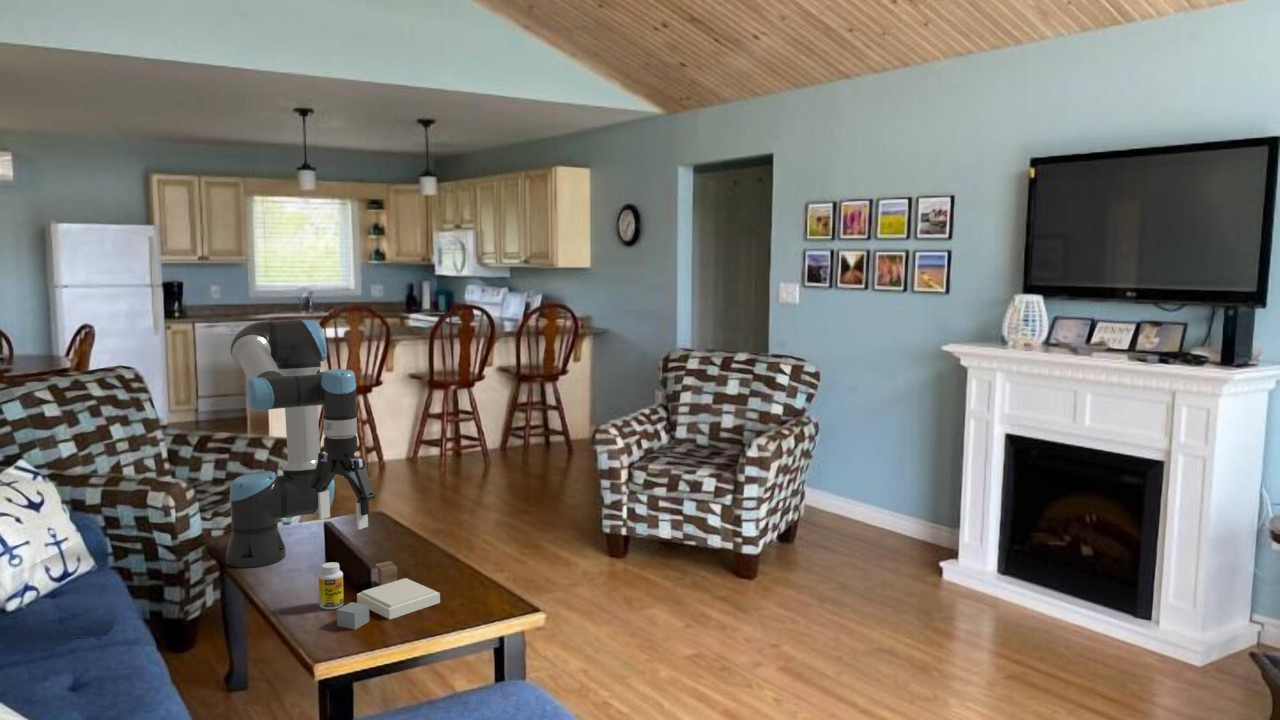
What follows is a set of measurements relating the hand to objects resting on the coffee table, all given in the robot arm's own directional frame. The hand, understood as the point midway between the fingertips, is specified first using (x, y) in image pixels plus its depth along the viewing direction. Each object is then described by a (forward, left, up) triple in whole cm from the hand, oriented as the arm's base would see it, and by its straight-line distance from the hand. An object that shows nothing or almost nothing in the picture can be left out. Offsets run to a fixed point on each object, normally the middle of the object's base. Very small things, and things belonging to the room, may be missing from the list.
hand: (343, 523), depth 225 cm
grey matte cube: (+12, -5, -20) cm, 24 cm away
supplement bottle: (-1, -3, -20) cm, 20 cm away
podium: (+9, +9, -20) cm, 24 cm away
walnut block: (-4, +14, -20) cm, 25 cm away
